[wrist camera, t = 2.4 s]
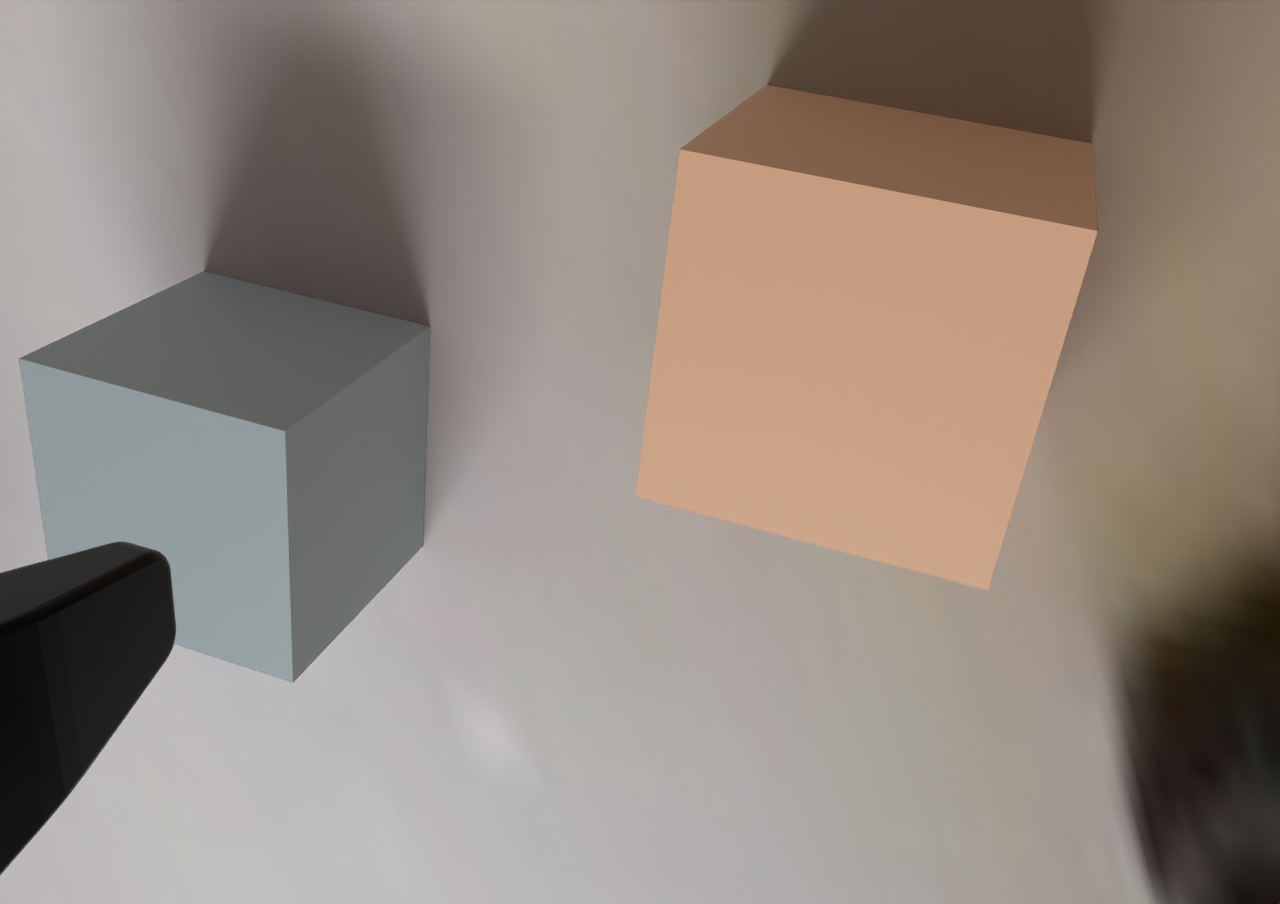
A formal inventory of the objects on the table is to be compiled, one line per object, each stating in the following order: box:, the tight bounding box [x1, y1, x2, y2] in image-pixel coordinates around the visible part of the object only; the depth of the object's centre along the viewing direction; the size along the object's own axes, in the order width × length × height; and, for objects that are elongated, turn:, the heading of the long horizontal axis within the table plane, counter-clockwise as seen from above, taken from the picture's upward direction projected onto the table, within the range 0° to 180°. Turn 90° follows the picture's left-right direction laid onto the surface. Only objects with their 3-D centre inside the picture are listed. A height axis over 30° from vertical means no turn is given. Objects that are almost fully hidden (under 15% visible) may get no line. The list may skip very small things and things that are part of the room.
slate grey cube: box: [19, 271, 430, 683], centre depth 22 cm, size 5×5×5 cm
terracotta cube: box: [635, 85, 1098, 590], centre depth 17 cm, size 5×5×5 cm
